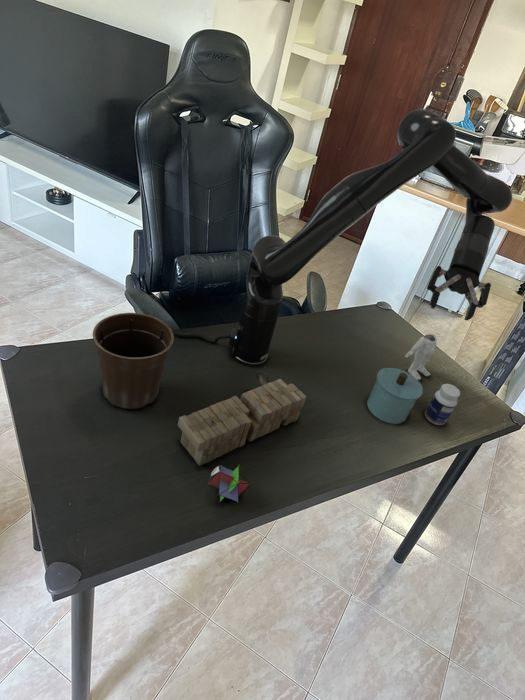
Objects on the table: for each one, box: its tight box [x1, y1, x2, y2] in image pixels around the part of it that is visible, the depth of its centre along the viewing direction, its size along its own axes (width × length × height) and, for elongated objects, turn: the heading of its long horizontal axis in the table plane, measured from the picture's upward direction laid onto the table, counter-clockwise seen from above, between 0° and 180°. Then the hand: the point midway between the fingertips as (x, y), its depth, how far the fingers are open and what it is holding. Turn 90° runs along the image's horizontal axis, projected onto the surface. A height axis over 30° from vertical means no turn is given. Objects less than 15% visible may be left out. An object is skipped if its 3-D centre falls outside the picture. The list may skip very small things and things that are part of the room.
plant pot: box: [92, 312, 175, 410], centre depth 105 cm, size 16×16×16 cm
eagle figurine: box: [255, 370, 271, 386], centre depth 116 cm, size 8×7×9 cm
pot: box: [366, 367, 424, 425], centre depth 121 cm, size 12×12×12 cm
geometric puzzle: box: [207, 464, 251, 503], centre depth 91 cm, size 7×7×8 cm
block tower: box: [177, 378, 307, 467], centre depth 105 cm, size 8×8×29 cm
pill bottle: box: [424, 383, 461, 426], centre depth 123 cm, size 6×6×10 cm
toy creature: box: [405, 334, 437, 381], centre depth 138 cm, size 12×6×12 cm, turn 126°
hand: (449, 313), depth 119 cm, fingers open, 8 cm apart
